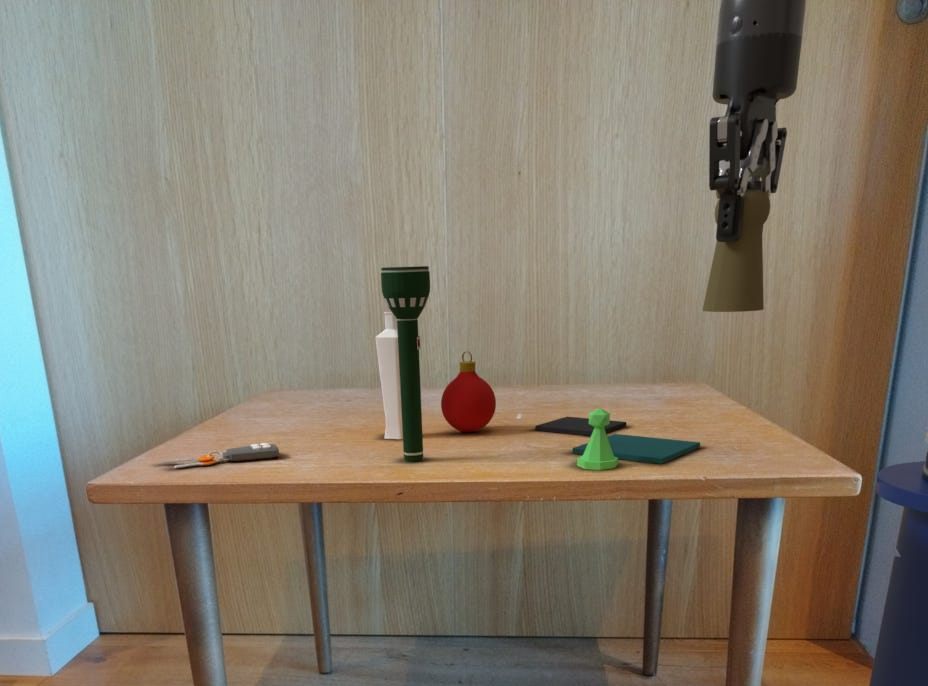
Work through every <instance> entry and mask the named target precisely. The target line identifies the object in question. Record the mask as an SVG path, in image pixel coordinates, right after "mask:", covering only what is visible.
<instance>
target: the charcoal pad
mask: <svg viewBox="0 0 928 686" xmlns="http://www.w3.org/2000/svg"><path fill="white" fill-rule="evenodd" d="M625 427H627V421H620V420H611V419H610V421H609V424H608V425H606V426H604V429H605V432H606V434H609V433H610V432H614V431H617V430H619V429H623V428H625ZM594 428H595V427H593V426H591V425H589V417H577V416H576V417H575V416H564V417H561V418H557V419H553V420H551V421H547V422H543V423H539V424H536V425H535V426H534V430H535V431H539V432H547V433H557V434H568V435H577V436H585V437H586V436H588V437H591V435H592V433H593V430H594Z"/></svg>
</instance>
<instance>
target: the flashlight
mask: <svg viewBox="0 0 928 686" xmlns="http://www.w3.org/2000/svg"><path fill="white" fill-rule="evenodd" d="M380 268H381V270H380V271H381V273H380V278H381V279H380V285H381V286H380V287H381V292H382V296H383V299H384V302H385V303H386V306H387V307H388V309H389V310H390V312H392V313H393V314H394V316H395V317H396V318H397V331H398V350H399V370H400V390H401V410H402V430H403V439H402V447H403V448H402V449H403V459H404V460H405V461H406V462H409V463H417V462H421V461H422V460H423V458H424V438H423V415H422V391H421V390H422V388H421V366H420V365H421V364H420V350H421V335H420V336H419V317H420V315H421V314H422V312H423V311H424V309H425V307H426V306H427V303H428V300H429V297H430V292H431V274H430V270H429V269H430V267H429V266H428V265H426V266H425V265H423V266H419V265H418V266H396V267H395V266H391V267H390V266H389V267H380Z"/></svg>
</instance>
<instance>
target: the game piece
mask: <svg viewBox="0 0 928 686" xmlns="http://www.w3.org/2000/svg"><path fill="white" fill-rule="evenodd" d="M610 416H611V413H610V412H608V411H606V410H604V409H603V408H601V407H598V408H597V409H595V410H593V411H591V412H589V413H588V418H589V425H591V426H593V427H595V428H594V430H593V433H592V435H591V436H589V437H590V438H589V440H588V441H587V443H588V445H587V447H586V449H585V452H584V454H582V455H580V456H579V457H578V458H577V459H576V460H577V461H576V466H577V467H579V468H581V469H583V470H594V471H595V470H596V471H603V470H611V469H612V470H613V469H615V468H616V467H617V466H618V464H619V459H618V458H617V457H614V455H613V452H612V449H611V446H610V443H609V440H608V438H607V436H608V435H607V433H606V432H605V429H604V426H606V425H608V424H609V421H610V420H611V419H610V418H611V417H610Z"/></svg>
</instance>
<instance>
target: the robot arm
mask: <svg viewBox="0 0 928 686" xmlns="http://www.w3.org/2000/svg"><path fill="white" fill-rule="evenodd" d="M806 7H807V0H721V2H720V5H719V10H718V11H719V12H718V20H717V34H716V47H715V58H714V69H713V70H714V72H713V83H712V94H711V96H712V99H713V101H714V102H715V103H717V104H721V105H726V106H727V107H726V111H725V113H724V115H723V116H722V115H721V116H716V117H715V116H714V117H711V118H710V121H709V145H708V149H709V150H708V151H709V152H708V153H709V155H708V156H709V157H708V158H709V160H708V161H709V162H708V163H709V164H708V165H709V166H708V167H709V169H708V186H709V190H710V191H715V195H716V199H717V200H719V199H720V200H719V210H718V221H717V223H716V233H715V239H716V242H717V241H718V242H734V241H738V240H739V239H740V237H741V228H742V218H743V208H744V198H740V197H743V196H744V195H745V191H746V189H753V190H759V191H763V192H765V193H766V194H767V195H768V197H769V198H770V197H771V194H775V193H776V192H777V190H778V188H779V187H778V186H779V180H780V175H781V170H782V169H781V168H782V163H783V158H784V152H785V146H786V142H787V136H788V129H787V127H778V126H779V125H778V122H777V108H776V107H777V103H778V102H779V101H780V100H785V99H787V98H790V97H791V96H793V95H795V92H796V91H797V87H798V79H799V78H798V77H799V69H800V59H801V53H802V43H803V35H804V25H805V17H806ZM763 232H764V225H763V226H762V234H763ZM925 433H926V434H925V437H924V438H925V439H924V442H925V443H927V444H928V427H926V432H925ZM925 461H926V463H925V464H924V467H923V472H922V478H923V479H925V480H926V481H928V451H927V452H926V456H925Z"/></svg>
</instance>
